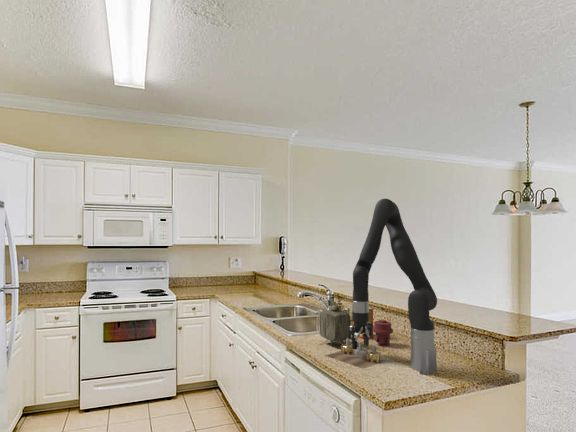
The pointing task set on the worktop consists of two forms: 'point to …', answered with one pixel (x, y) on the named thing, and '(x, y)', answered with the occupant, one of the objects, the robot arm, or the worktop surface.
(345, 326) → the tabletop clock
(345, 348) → the gear
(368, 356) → the gear
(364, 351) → the steel gear
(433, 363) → the robot arm
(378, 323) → the mechanical component
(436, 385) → the worktop surface
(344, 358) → the gear board
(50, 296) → the worktop surface
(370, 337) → the baking soda box
